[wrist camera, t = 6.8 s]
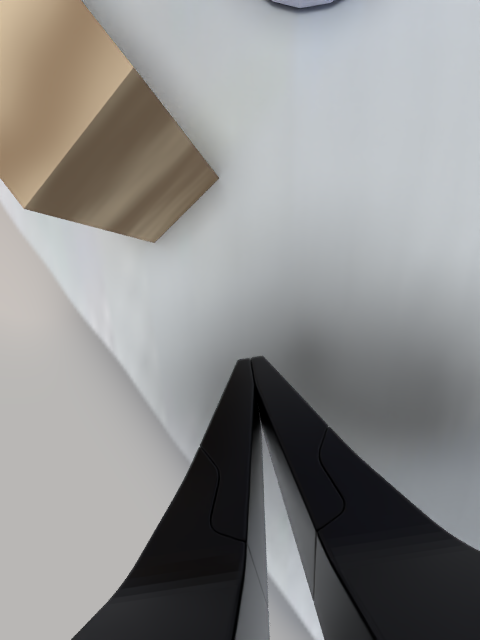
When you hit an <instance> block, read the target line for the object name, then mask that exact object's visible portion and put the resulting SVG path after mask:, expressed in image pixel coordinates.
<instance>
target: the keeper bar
mask: <svg viewBox="0 0 480 640" xmlns="http://www.w3.org/2000/svg"><path fill="white" fill-rule="evenodd" d="M0 178H1V180H2V181H3V182H4V184H5V185H6V186H7V187H8V189H9V190H10V191H11V193H12V194H13V195H14V197H15V198H16V199H17V201H18V202H19V203H20V204H21V206H22V207H23V208H24V209H27V210H31V211H35V212H38V213H42V214H46V215H50V216H54V217H57V218H61V219H65V220H69V221H73V222H77V223H80V224H84V225H88V226H92V227H96V228H99V229H103V230H107V231H111V232H115V233H119V234H122V235H126V236H130V237H134V238H138V239H141V240H145V241H149V242H153V243H155V242H156V241H157V240H158V239H159V238H160V237H161V236H162V235H163V234H164V233H165V232H166V231H167V230H168V229H169V228H170V227H171V226H172V225H173V224H174V223H175V222H176V221H177V220H178V219H179V218H180V217H181V216H182V215H183V214H184V213H185V212H186V211H187V210H188V209H189V208H190V207H191V206H192V205H193V204H194V203H195V202H196V201H197V200H198V199H199V198H200V197H201V196H202V195H203V194H204V193H205V192H206V191H207V190H208V189H209V188H210V187H211V186H212V185H213V184H214V183H215V182H216V181H217V180H218V179H219V177H218V176H217V175H216V173H215V172H214V171H213V170H212V168H211V167H210V166H209V164H208V163H207V162H206V160H205V159H204V158H203V157H202V155H201V154H200V153H199V151H198V150H197V149H196V148H195V146H194V145H193V144H192V142H191V141H190V140H189V138H188V137H187V136H186V135H185V133H184V132H183V131H182V129H181V128H180V127H179V125H178V124H177V123H176V122H175V120H174V119H173V118H172V116H171V115H170V114H169V113H168V111H167V110H166V109H165V107H164V106H163V105H162V103H161V102H160V101H159V100H158V98H157V97H156V96H155V94H154V93H153V92H152V90H151V89H150V88H149V87H148V85H147V84H146V83H145V81H144V80H143V79H142V78H141V76H140V75H139V74H138V72H137V71H136V70H135V68H134V67H133V66H132V65H131V63H130V62H129V61H128V60H127V58H126V57H125V56H124V54H123V53H122V52H121V51H120V49H119V48H118V47H117V46H116V44H115V43H114V42H113V40H112V39H111V38H110V37H109V35H108V34H107V33H106V32H105V30H104V29H103V28H102V26H101V25H100V24H99V23H98V21H97V20H96V19H95V18H94V16H93V15H92V14H91V12H90V11H89V10H88V9H87V7H86V6H85V5H84V4H83V2H82V1H81V0H0Z"/></svg>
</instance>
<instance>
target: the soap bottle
mask: <svg viewBox="0 0 480 640" xmlns="http://www.w3.org/2000/svg"><path fill="white" fill-rule="evenodd" d="M272 1H273V2H277V3H281V4H285V5H289V6H293V7H297V8H303V7H309V6H315V5H321V4H327V3H331V2H332V1H334V0H272Z"/></svg>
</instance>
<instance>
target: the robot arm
mask: <svg viewBox="0 0 480 640" xmlns="http://www.w3.org/2000/svg"><path fill="white" fill-rule="evenodd" d="M258 408H259V409H258ZM259 414H260V415H259ZM260 420H261V422H260ZM261 425H262V429H263V432H264V436H265V439H266V443H267V446H268V449H269V453H270V456H271V460H272V463H273V466H274V470H275V473H276V476H277V480H278V483H279V487H280V490H281V493H282V497H283V500H284V504H285V507H286V510H287V514H288V517H289V521H290V524H291V527H292V531H293V534H294V537H295V541H296V544H297V548H298V551H299V554H300V558H301V561H302V565H303V568H304V571H305V575H306V578H307V582H308V585H309V588H310V592H311V595H312V599H313V601H314V605H315V609H316V612H317V616H318V619H319V622H320V626H321V629H322V633H323V636H324V639H325V640H480V551H478V550H476V549H474V548H473V547H471V546H469V545H467V544H466V543H464V542H462V541H461V540H459V539H457V538H456V537H454V536H453V535H451V534H450V533H448V532H447V531H446V530H444V529H443V528H442V527H440V526H439V525H438V524H436V523H435V522H434V521H433V520H431V519H430V518H429V517H428V516H427V515H425V514H424V513H423V512H422V511H421V510H420V509H418V508H417V507H416V506H415V505H414V504H413V503H412V502H410V501H409V500H408V499H407V498H406V497H405V496H403V495H402V494H401V493H400V492H399V491H398V490H396V489H395V488H394V487H393V486H392V485H391V484H390V483H388V482H387V481H386V480H385V479H384V478H383V477H381V476H380V475H379V474H378V473H377V472H376V471H375V470H373V469H372V468H371V467H370V466H369V465H368V464H367V463H366V462H365V461H363V460H362V459H361V458H360V457H359V456H358V455H357V454H356V453H355V452H354V451H353V450H352V449H351V448H350V447H349V446H348V445H347V444H346V443H345V442H344V441H343V440H342V439H341V438H340V437H339V436H338V435H337V434H336V433H335V432H334V431H333V430H332V429H331V428H330V427H328V425H327V424H326V422H325V421H324V420H323V419H322V418H321V417H320V416H319V415H318V414H317V413H316V412H315V411H314V410H313V409H312V408H311V406H310V405H309V404H308V403H307V402H306V401H305V400H304V399H303V398H302V397H301V396H300V395H299V394H298V393H297V392H296V391H295V389H294V388H293V387H292V386H291V385H290V384H289V383H288V382H287V381H286V380H285V379H284V378H283V377H282V376H281V375H280V373H279V372H278V371H277V370H276V369H275V368H274V367H273V366H272V365H271V364H270V363H269V362H268V361H267V360H266V359H265V358H264V357H263V356H258V357H252V358H251V360H250V358H246V359H239V360H238V361H237V363H236V365H235V367H234V369H233V372H232V374H231V376H230V378H229V381H228V383H227V385H226V387H225V390H224V392H223V394H222V396H221V399H220V401H219V403H218V405H217V408H216V410H215V412H214V415H213V417H212V419H211V421H210V424H209V426H208V428H207V430H206V433H205V435H204V437H203V439H202V442H201V444H200V447H199V448H198V450H197V453H196V455H195V457H194V459H193V461H192V464H191V466H190V468H189V470H188V472H187V474H186V476H185V478H184V480H183V482H182V484H181V486H180V488H179V489H178V491H177V493H176V495H175V497H174V498H173V501H172V502H171V504H170V506H169V507H168V509H167V511H166V512H165V514H164V516H163V517H162V519H161V521H160V523H159V524H158V526H157V528H156V530H155V531H154V533H153V535H152V537H151V538H150V540H149V542H148V543H147V545H146V547H145V549H144V550H143V552H142V554H141V556H140V557H139V559H138V561H137V562H136V564H135V566H134V567H133V569H132V570H131V572H130V573H129V575H128V576H127V578H126V579H125V581H124V582H123V583H122V585H121V586H120V587H119V589H118V590H117V591H116V593H115V594H114V595H113V596H112V597H111V598H110V600H109V601H108V602H107V603H106V604H105V605H104V606H103V607H102V608H101V609H100V610H99V611H98V612H97V613H96V614H95V616H93V617H92V618H91V620H90V621H89V622H88V623H87V624H86V625H85V626H84V627H83V628H82V629H81V630H80V631H79V632H78V633H77V634H76V635H75V636H74V637H73V638H72V639H71V640H270V635H269V611H268V586H267V560H266V535H265V510H264V485H263V460H262V434H261Z"/></svg>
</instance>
